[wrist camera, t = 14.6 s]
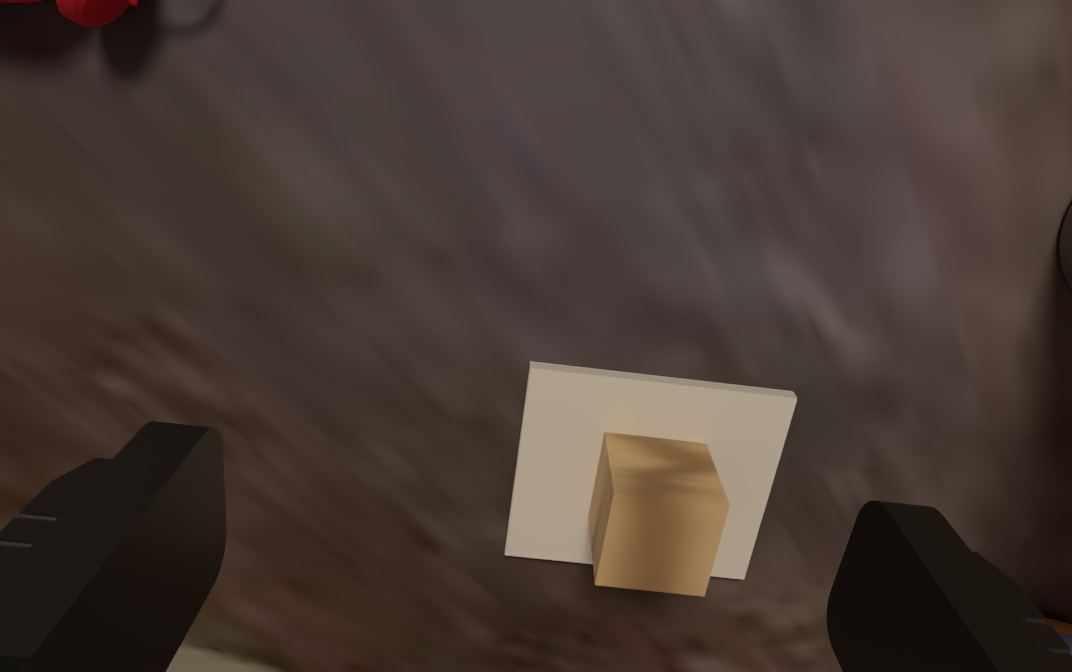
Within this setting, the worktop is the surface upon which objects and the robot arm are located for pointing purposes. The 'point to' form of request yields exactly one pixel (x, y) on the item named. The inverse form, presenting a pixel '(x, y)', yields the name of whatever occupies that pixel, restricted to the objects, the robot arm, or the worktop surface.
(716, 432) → the plate
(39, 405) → the worktop surface
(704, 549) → the maple block
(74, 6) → the alarm clock
